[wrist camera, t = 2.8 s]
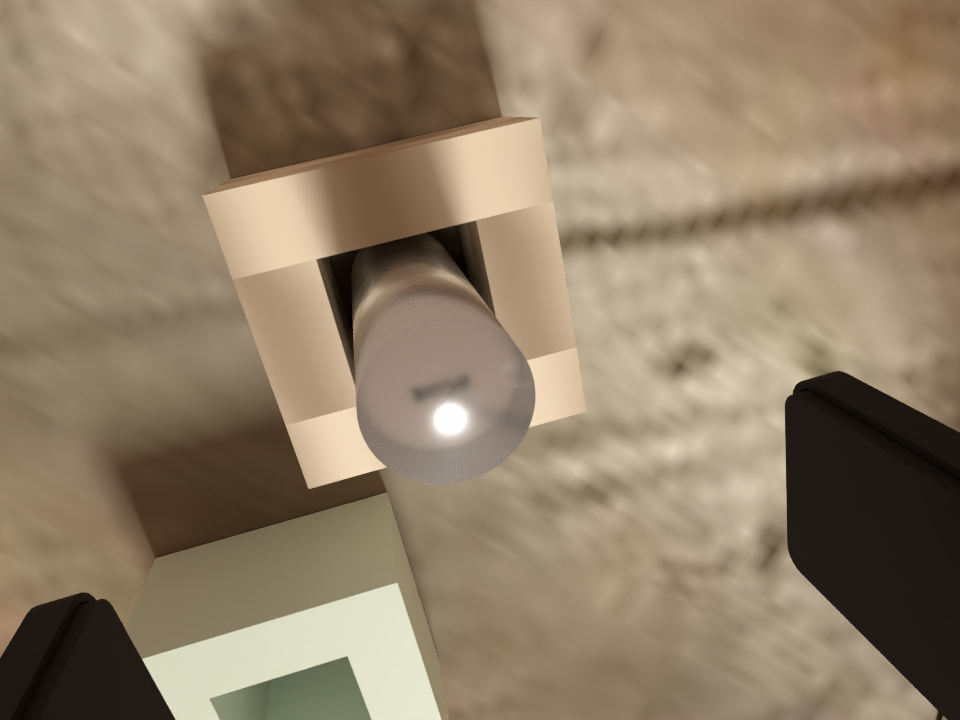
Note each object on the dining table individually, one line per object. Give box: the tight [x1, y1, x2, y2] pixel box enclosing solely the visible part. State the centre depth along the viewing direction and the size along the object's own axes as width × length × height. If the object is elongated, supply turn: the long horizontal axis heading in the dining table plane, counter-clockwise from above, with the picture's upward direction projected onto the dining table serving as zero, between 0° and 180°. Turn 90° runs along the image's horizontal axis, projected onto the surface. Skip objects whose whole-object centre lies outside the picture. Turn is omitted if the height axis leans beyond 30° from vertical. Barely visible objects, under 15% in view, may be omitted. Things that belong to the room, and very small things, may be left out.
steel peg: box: [351, 233, 536, 484], centre depth 20 cm, size 4×4×12 cm
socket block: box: [203, 117, 587, 489], centre depth 23 cm, size 10×10×5 cm
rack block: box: [125, 492, 449, 720], centre depth 27 cm, size 10×10×6 cm
